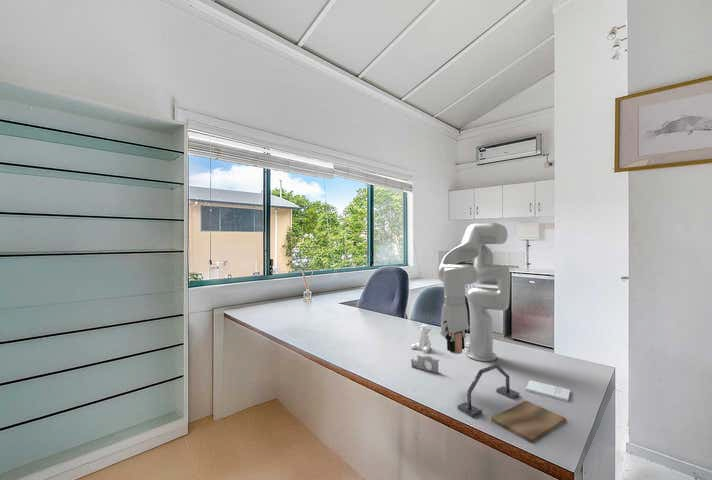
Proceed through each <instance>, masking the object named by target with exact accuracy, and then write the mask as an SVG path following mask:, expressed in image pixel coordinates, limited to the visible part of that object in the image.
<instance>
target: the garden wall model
mask: <svg viewBox="0 0 712 480" xmlns="http://www.w3.org/2000/svg"><path fill="white" fill-rule="evenodd" d="M416 357H417V359H414V358H411V359H410V362H411V367H413V368H417V369H421V370H425V371H428V372H429V371H430V372H433V373H439V369H440V368H439V362H440V359H435V358H433V357H432V356H430V355H424V356H423V355H419V354H417V355H416Z"/></svg>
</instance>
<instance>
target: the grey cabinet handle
mask: <svg viewBox="0 0 712 480" xmlns="http://www.w3.org/2000/svg"><path fill="white" fill-rule="evenodd" d="M495 369H496V370H498V371H499V373H500V374H502V375H503V377H505V386H503V385H502V386H500V387H497V388H496V393H498V394H501V395H502V396H504V397H507V398H509V399H511V400H514V399H516V398H518V397H520V392H518V391H516V390H513V389H511V388H510V375H509V374H508V373H507V372H506V371H505V370H504V369H503V368H502V367H501V366H500V365H499V364H496V363H495V364H492V365H490V366H487V367H484V368H482V369H479V371H478V372H477V374H476V376H475V377H474V379H473V381H472V382H471V384H470V386H469V387H468V389H467V390H466V391H467V392H466V395H467V396H466V401H465V402H463V403H460V404H458V405H457V409H458V410H459V411H461V412H462V413H464V414H466V415H468V416H470V417H471V418H476V417H478V416H480V415H482V413H483V411H482V409H481V408H478V407H476V406H474V405H472V392H473V391H474V389H475V387H476V386H477V384H478V382H479V381H480V378H481V377H482V376H483V374H484V373H487V372H491V371H493V370H495Z"/></svg>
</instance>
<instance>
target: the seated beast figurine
mask: <svg viewBox="0 0 712 480" xmlns="http://www.w3.org/2000/svg"><path fill="white" fill-rule="evenodd" d="M431 330H432V327H431V328H430V327H429V326H428V325H426V324H421V325H420V328H419V333H420V334H419V335H418V342H416V343H413V344H411V345H410V349H411V350H417V349H418V351H421V352H423V353H424V354H428V353H429V351H430V349H431V347H432V343H431V341H430V339H429V337H430V336H429V335H428V334H429V333H430V331H431ZM427 352H428V353H427Z"/></svg>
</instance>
